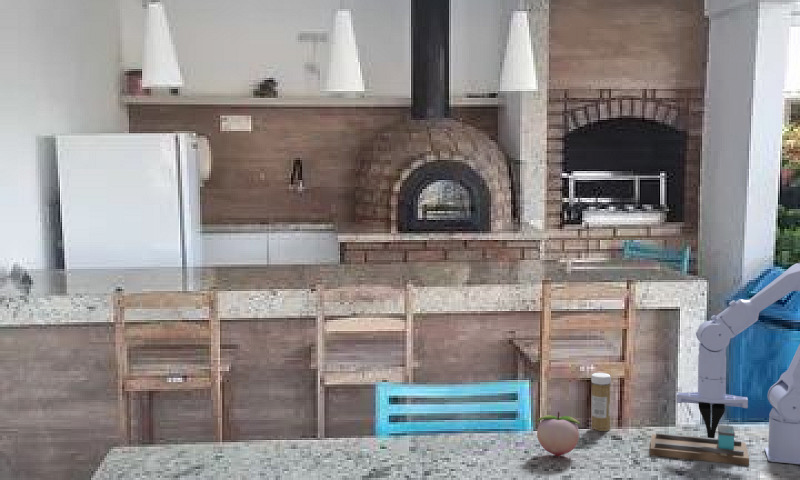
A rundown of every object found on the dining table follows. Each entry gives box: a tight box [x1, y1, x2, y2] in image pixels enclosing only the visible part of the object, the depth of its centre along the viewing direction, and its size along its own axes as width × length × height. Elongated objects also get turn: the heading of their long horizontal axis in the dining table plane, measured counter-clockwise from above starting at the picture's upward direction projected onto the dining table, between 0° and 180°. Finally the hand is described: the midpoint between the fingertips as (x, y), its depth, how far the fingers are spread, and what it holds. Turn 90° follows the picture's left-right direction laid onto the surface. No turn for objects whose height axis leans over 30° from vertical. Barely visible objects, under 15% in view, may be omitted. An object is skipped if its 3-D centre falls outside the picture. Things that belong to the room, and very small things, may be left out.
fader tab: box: [717, 424, 736, 450], centre depth 174 cm, size 3×5×4 cm, turn 161°
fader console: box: [649, 432, 750, 466], centre depth 176 cm, size 20×10×2 cm, turn 71°
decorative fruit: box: [536, 411, 581, 457], centre depth 174 cm, size 9×8×10 cm
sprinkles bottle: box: [590, 372, 612, 432], centre depth 192 cm, size 5×5×13 cm
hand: (710, 436), depth 175 cm, fingers closed
